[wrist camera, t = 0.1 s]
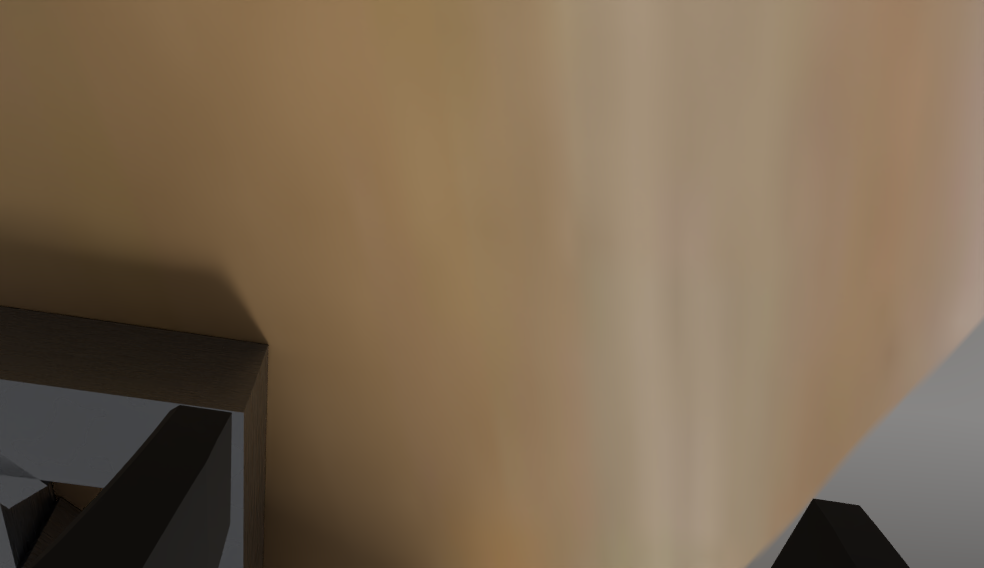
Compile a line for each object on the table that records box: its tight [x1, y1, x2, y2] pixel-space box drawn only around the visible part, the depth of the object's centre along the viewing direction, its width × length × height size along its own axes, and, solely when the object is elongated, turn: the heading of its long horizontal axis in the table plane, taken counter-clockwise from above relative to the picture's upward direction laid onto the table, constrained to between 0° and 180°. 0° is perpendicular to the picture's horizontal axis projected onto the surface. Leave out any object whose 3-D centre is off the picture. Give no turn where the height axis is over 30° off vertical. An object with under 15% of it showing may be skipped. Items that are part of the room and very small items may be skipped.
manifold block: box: [0, 306, 268, 568], centre depth 24 cm, size 12×14×2 cm
